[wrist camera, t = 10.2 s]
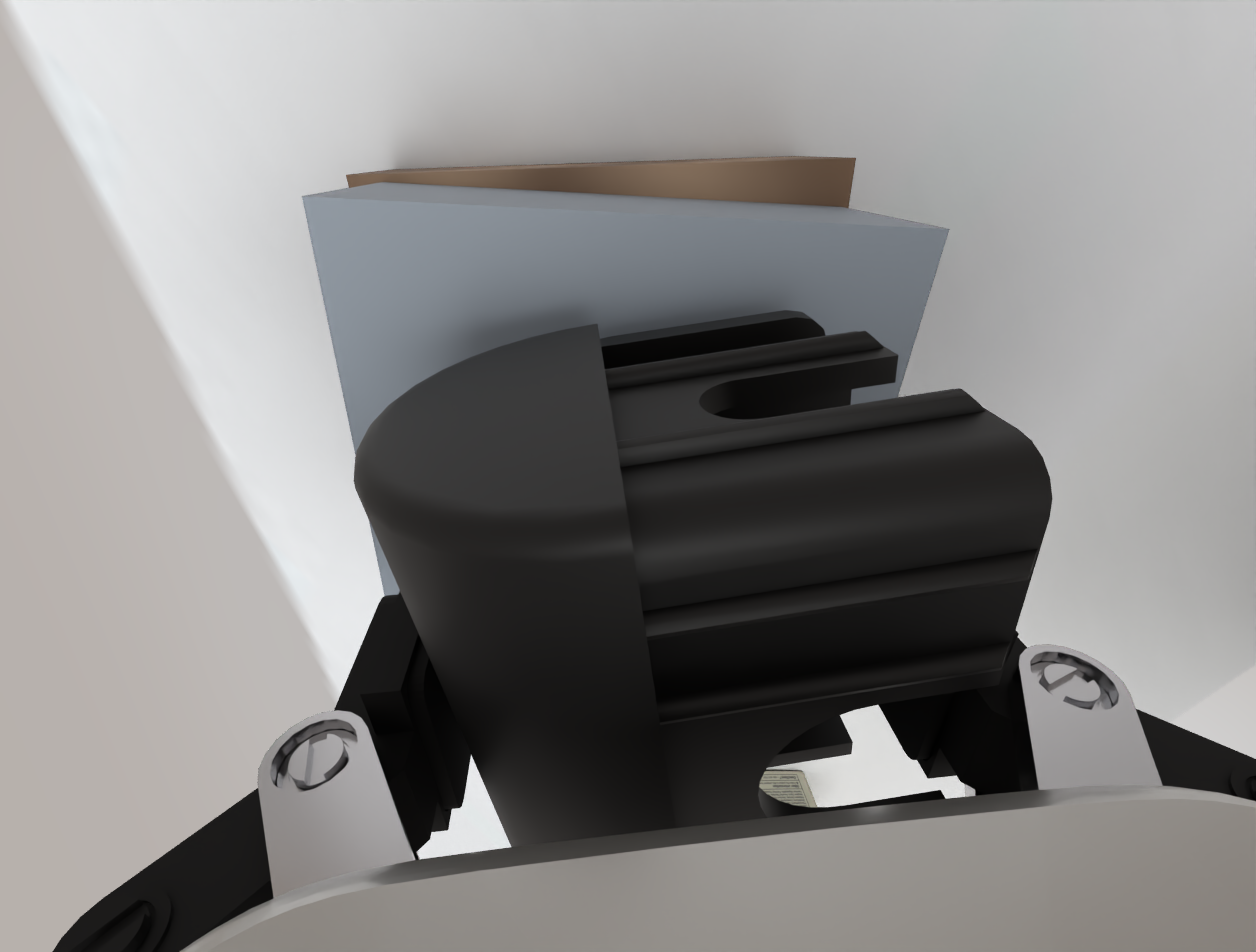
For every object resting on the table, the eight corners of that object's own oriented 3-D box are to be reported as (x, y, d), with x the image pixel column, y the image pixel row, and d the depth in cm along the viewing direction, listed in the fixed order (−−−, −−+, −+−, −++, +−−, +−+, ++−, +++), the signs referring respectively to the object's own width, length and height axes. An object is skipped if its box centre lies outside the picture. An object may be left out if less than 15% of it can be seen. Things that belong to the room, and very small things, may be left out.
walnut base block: (790, 155, 19) (856, 158, 15) (756, 485, 26) (795, 552, 21) (397, 169, 18) (346, 174, 14) (466, 506, 25) (445, 582, 20)
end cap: (425, 335, 10) (226, 587, 4) (816, 276, 10) (1147, 444, 4) (539, 702, 15) (520, 1049, 9) (801, 660, 15) (945, 977, 9)
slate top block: (841, 206, 15) (949, 229, 11) (765, 557, 21) (815, 661, 17) (382, 181, 14) (302, 195, 10) (436, 563, 20) (401, 677, 16)
